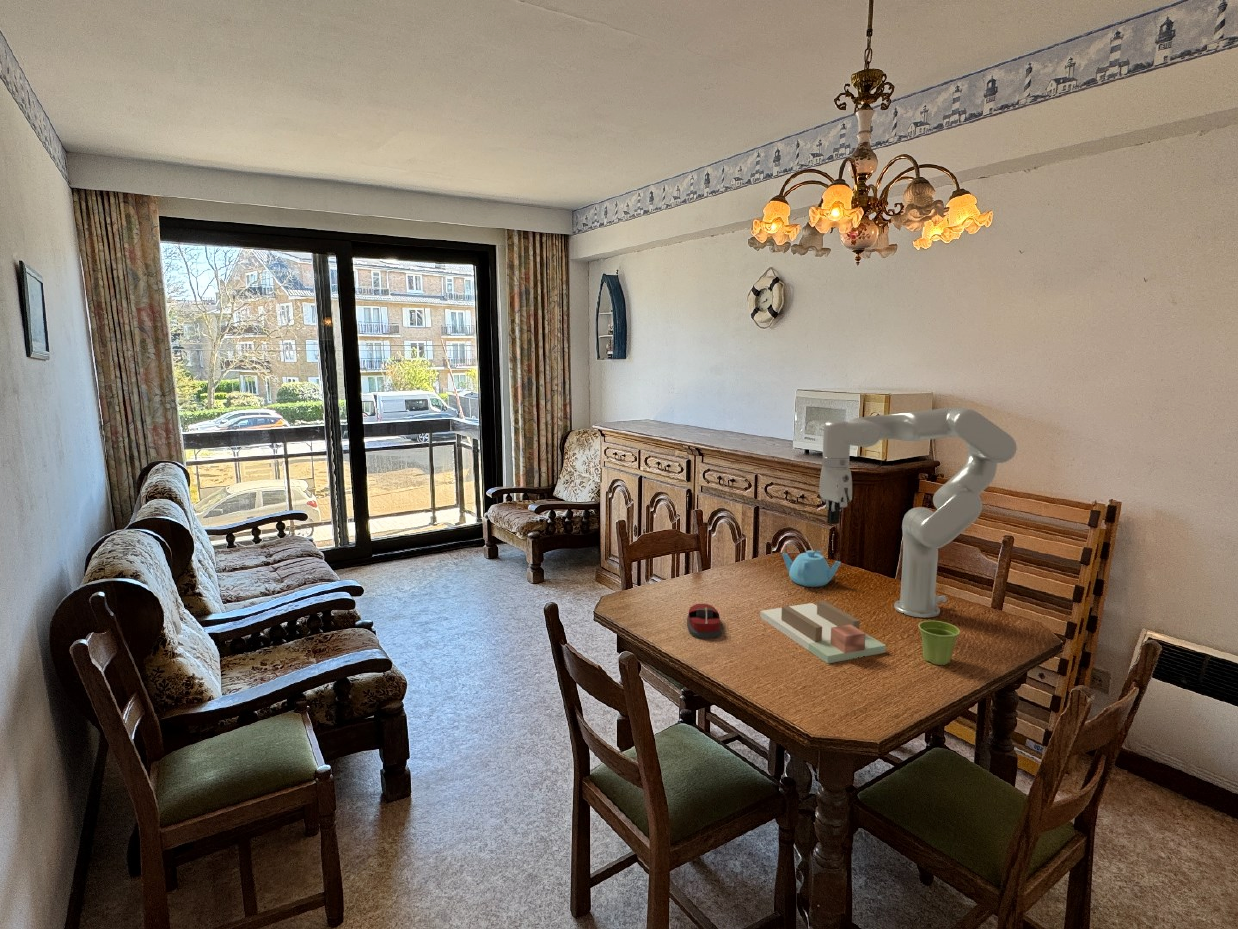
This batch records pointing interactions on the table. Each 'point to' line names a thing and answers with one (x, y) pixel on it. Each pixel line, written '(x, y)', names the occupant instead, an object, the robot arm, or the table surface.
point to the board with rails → (818, 629)
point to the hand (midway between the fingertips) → (833, 523)
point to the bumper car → (704, 621)
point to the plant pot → (938, 641)
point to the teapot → (810, 569)
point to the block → (848, 638)
